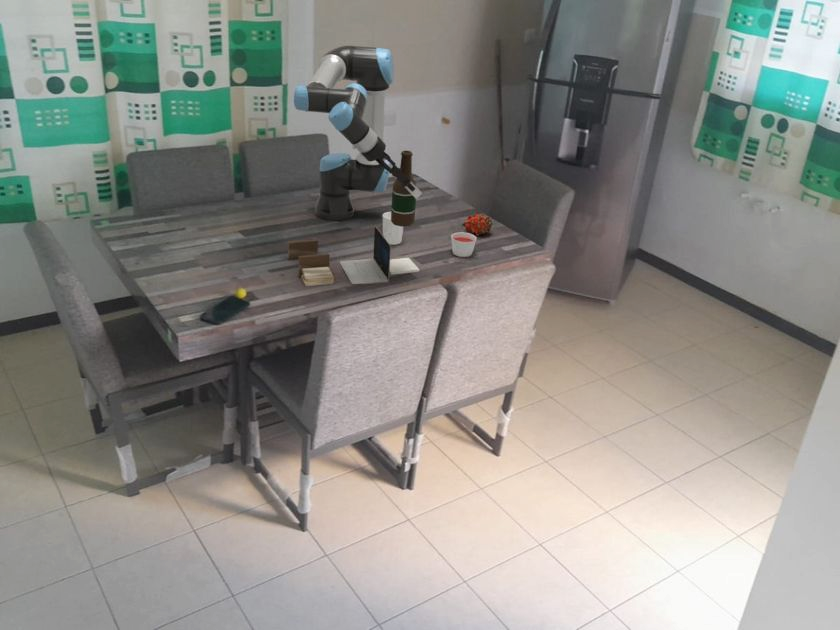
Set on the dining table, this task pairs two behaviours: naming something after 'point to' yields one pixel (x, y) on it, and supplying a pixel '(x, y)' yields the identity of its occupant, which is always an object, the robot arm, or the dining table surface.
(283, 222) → the dining table surface
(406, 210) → the beer bottle
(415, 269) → the placing pad
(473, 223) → the dragon fruit
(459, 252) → the cup of red liquid
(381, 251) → the laptop
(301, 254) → the bookends with books
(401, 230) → the white cup
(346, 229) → the dining table surface
